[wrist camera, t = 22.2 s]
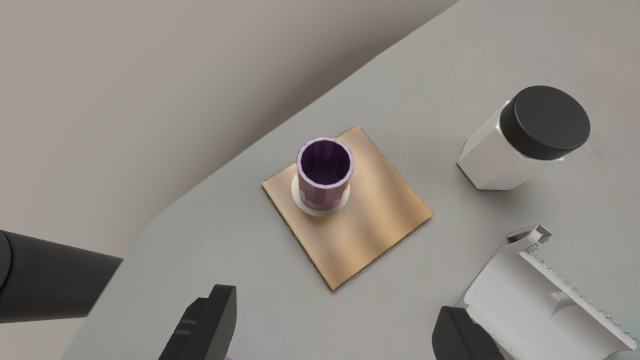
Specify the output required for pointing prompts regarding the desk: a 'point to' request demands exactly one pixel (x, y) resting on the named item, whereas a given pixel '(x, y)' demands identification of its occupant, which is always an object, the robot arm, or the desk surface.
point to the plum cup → (323, 172)
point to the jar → (524, 138)
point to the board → (351, 212)
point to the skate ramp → (538, 308)
